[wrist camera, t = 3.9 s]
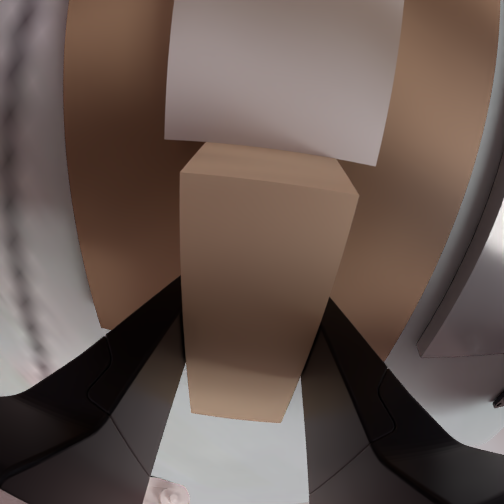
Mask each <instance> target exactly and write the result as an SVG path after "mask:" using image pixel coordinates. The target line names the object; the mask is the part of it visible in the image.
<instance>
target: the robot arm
mask: <svg viewBox="0 0 504 504" xmlns="http://www.w3.org/2000/svg"><path fill="white" fill-rule="evenodd" d="M185 363H186V354H185V341H184V326H183V310H182V290H181V275H180V276H179V277H177V278H176V279H175V280H173V281H172V282H171V283H170V284H168V285H167V286H166V287H165V288H163V289H162V290H161V291H160V292H158V293H157V294H156V295H154V296H153V297H152V298H151V299H149V300H148V301H147V302H146V303H144V304H143V305H142V306H141V307H139V308H138V309H137V310H136V311H134V312H133V313H132V314H131V315H129V316H128V317H127V318H126V319H124V320H123V321H122V322H121V323H120V324H118V325H117V326H116V327H115V328H113V329H112V330H111V331H110V332H108V333H107V334H106V337H105V336H103V337H102V338H101V339H100V340H98V341H97V342H96V343H95V344H94V345H92V346H91V347H90V348H88V349H87V350H86V351H84V352H83V353H82V354H81V355H79V356H78V357H76V358H75V359H73V360H72V361H71V362H69V363H68V364H66V365H65V366H63V367H62V368H60V369H59V370H57V371H56V372H54V373H53V374H51V375H50V376H48V377H47V378H45V379H43V380H42V381H40V382H39V383H37V384H36V385H34V386H33V387H31V388H30V389H28V390H26V391H24V392H22V393H19V394H16V395H12V396H3V397H0V504H143V500H144V497H145V493H146V490H147V486H148V483H149V479H150V478H149V477H150V476H151V472H152V469H153V466H154V462H155V459H156V455H157V452H158V449H159V446H160V442H161V439H162V436H163V432H164V429H165V426H166V423H167V419H168V416H169V413H170V410H171V407H172V403H173V400H174V397H175V394H176V391H177V388H178V385H179V381H180V378H181V375H182V372H183V369H184V366H185ZM301 385H302V397H303V409H304V422H305V436H306V450H307V466H308V483H309V494H310V495H309V504H504V455H502V454H497V453H493V452H489V451H485V450H481V449H477V448H473V447H469V446H466V445H464V444H462V443H460V442H458V441H456V440H455V439H454V438H452V437H451V436H450V435H449V434H448V433H447V432H446V431H445V430H444V429H443V428H442V427H441V426H440V425H439V424H438V423H437V422H436V421H435V420H434V419H433V418H432V417H431V416H430V415H429V414H428V412H427V411H426V410H425V409H424V408H423V407H422V406H421V405H420V404H419V403H418V402H417V401H416V400H415V399H414V398H413V397H412V396H411V394H410V393H409V392H408V391H407V390H406V389H405V388H404V386H403V385H402V384H401V383H400V382H399V380H398V379H397V378H396V377H395V376H394V374H393V373H392V372H391V371H390V369H387V366H386V364H385V363H384V362H383V361H382V360H381V358H380V357H379V356H378V355H377V353H376V352H375V351H374V350H373V348H372V347H371V346H370V345H369V343H368V342H367V341H366V340H365V339H364V337H363V336H362V335H361V334H360V332H359V331H358V330H357V329H356V328H355V326H354V325H353V324H352V323H351V322H350V320H349V319H348V318H347V317H346V315H345V314H344V313H343V312H342V311H341V309H340V308H339V307H338V306H337V305H336V303H335V302H334V301H333V300H332V299H331V297H330V296H329V299H328V302H327V305H326V308H325V311H324V314H323V317H322V320H321V322H320V325H319V328H318V331H317V334H316V336H315V339H314V342H313V344H312V347H311V350H310V352H309V355H308V358H307V360H306V363H305V366H304V368H303V371H302V373H301ZM493 406H494V408H498V407H502V406H504V392H503V393H502V394H501V395H500V396H499V397H498V398H497V399H496V400H495V401H494V402H493Z"/></svg>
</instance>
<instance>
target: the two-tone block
mask: <svg viewBox="0 0 504 504" xmlns="http://www.w3.org/2000/svg"><path fill="white" fill-rule="evenodd" d="M403 7H404V0H174V7H173V15H172V24H171V34H170V44H169V56H168V69H167V85H166V105H165V135H164V139H166V140H185V141H200V142H205V144H204V145H203V146H202V147H201V148H200V149H199V150H198V152H197V153H196V154H195V155H194V156H193V157H192V158H191V160H190V161H189V162H188V163H187V164H186V166H185V167H184V168H183V169H182V170H181V171H180V264H181V290H182V310H183V326H184V341H185V354H186V366H187V377H188V387H189V397H190V406H191V413H195V414H202V415H208V416H215V417H223V418H230V419H239V420H249V421H259V422H272V423H281V421H282V419H283V417H284V414H285V412H286V410H287V407H288V405H289V403H290V400H291V398H292V396H293V393H294V391H295V388H296V386H297V383H298V381H299V378H300V376H301V373H302V371H303V368H304V366H305V363H306V360H307V358H308V355H309V352H310V350H311V347H312V344H313V342H314V339H315V336H316V334H317V331H318V328H319V325H320V322H321V320H322V317H323V314H324V311H325V308H326V305H327V302H328V299H329V296H330V293H331V290H332V287H333V284H334V281H335V278H336V275H337V271H338V268H339V265H340V262H341V259H342V255H343V252H344V249H345V245H346V242H347V238H348V235H349V231H350V228H351V224H352V221H353V217H354V214H355V210H356V206H357V202H358V199H359V194H358V192H357V191H356V189H355V187H354V186H353V184H352V183H351V181H350V179H349V178H348V176H347V175H346V173H345V172H344V170H343V168H342V167H341V165H340V164H339V162H338V161H337V159H340V160H346V161H351V162H356V163H361V164H366V165H371V166H375V167H376V163H377V159H378V155H379V151H380V146H381V142H382V137H383V133H384V128H385V123H386V118H387V114H388V109H389V103H390V98H391V93H392V87H393V81H394V75H395V69H396V63H397V56H398V49H399V42H400V34H401V26H402V17H403Z"/></svg>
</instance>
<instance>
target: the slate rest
mask: <svg viewBox="0 0 504 504" xmlns="http://www.w3.org/2000/svg"><path fill="white" fill-rule="evenodd" d="M416 346H417V349H418V351H419V354H420V357H421V358H435V357H460V356H477V355H490V354H502V353H504V152H503V155H502V159H501V162H500V165H499V169H498V172H497V175H496V178H495V181H494V184H493V187H492V190H491V193H490V196H489V199H488V202H487V204H486V207H485V210H484V212H483V215H482V217H481V220H480V222H479V225H478V227H477V230H476V232H475V235H474V237H473V239H472V242H471V244H470V246H469V248H468V251H467V253H466V255H465V257H464V259H463V261H462V263H461V266H460V268H459V270H458V272H457V274H456V276H455V278H454V280H453V282H452V284H451V286H450V287H449V289H448V291H447V293H446V295H445V297H444V299H443V301H442V302H441V304H440V306H439V308H438V309H437V311H436V313H435V315H434V316H433V318H432V320H431V322H430V323H429V325H428V327H427V328H426V330H425V332H424V333H423V335H422V336H421V338H420V340H419V341H418V343H417V344H416Z"/></svg>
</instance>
